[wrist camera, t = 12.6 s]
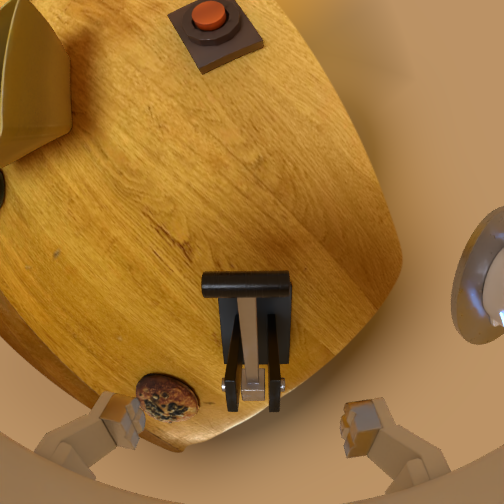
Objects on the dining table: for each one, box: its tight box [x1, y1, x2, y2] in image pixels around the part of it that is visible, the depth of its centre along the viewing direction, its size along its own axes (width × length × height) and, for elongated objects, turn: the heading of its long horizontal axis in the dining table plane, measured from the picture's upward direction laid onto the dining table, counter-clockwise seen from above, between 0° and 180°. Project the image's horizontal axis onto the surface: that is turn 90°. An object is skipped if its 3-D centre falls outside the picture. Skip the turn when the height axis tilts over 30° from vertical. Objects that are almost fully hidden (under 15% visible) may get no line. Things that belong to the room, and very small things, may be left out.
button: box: [192, 1, 227, 31], centre depth 22 cm, size 4×4×2 cm
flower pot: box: [0, 0, 72, 169], centre depth 21 cm, size 19×19×17 cm
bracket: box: [218, 282, 292, 412], centre depth 30 cm, size 12×9×14 cm
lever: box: [201, 270, 290, 401], centre depth 21 cm, size 16×5×2 cm, turn 1°
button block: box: [167, 0, 263, 74], centre depth 25 cm, size 10×8×4 cm
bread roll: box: [136, 374, 199, 423], centre depth 40 cm, size 11×11×5 cm
